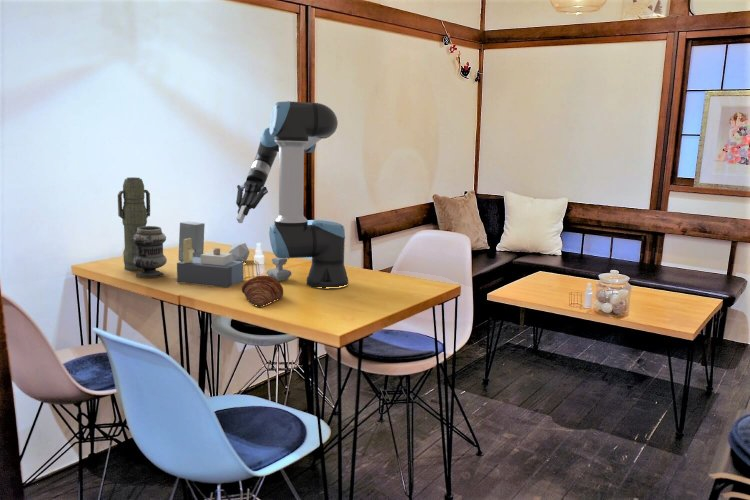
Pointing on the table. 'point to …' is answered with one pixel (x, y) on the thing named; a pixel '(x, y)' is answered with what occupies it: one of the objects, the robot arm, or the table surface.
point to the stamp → (279, 270)
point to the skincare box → (194, 232)
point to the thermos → (132, 216)
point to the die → (239, 251)
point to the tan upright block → (187, 250)
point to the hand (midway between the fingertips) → (239, 221)
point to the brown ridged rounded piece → (262, 290)
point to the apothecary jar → (149, 251)
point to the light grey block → (217, 257)
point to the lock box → (210, 273)
